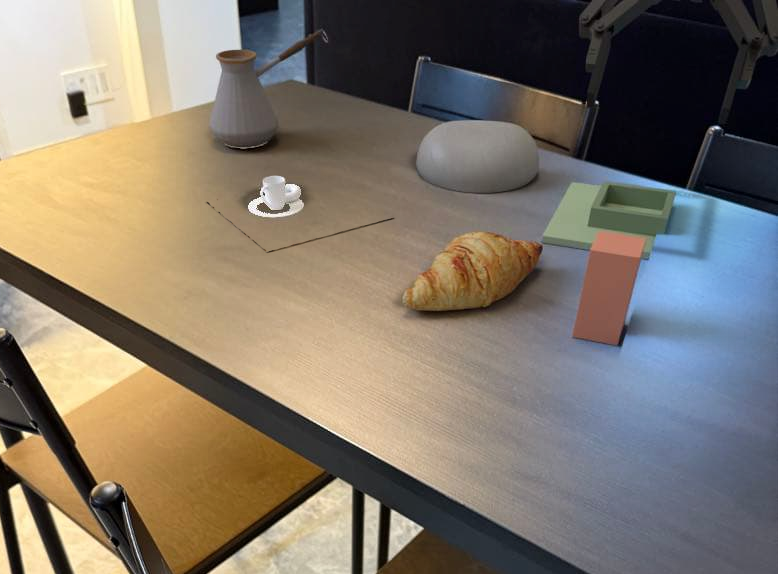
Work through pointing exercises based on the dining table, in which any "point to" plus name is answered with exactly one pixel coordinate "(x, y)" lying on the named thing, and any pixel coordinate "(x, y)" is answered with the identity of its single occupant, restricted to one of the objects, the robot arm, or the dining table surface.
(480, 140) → the grey dome pebble
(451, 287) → the croissant
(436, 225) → the dining table surface
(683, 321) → the dining table surface
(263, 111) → the coffee pot
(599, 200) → the socket pad
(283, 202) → the teacup and saucer
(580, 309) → the foam block
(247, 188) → the dining table surface
